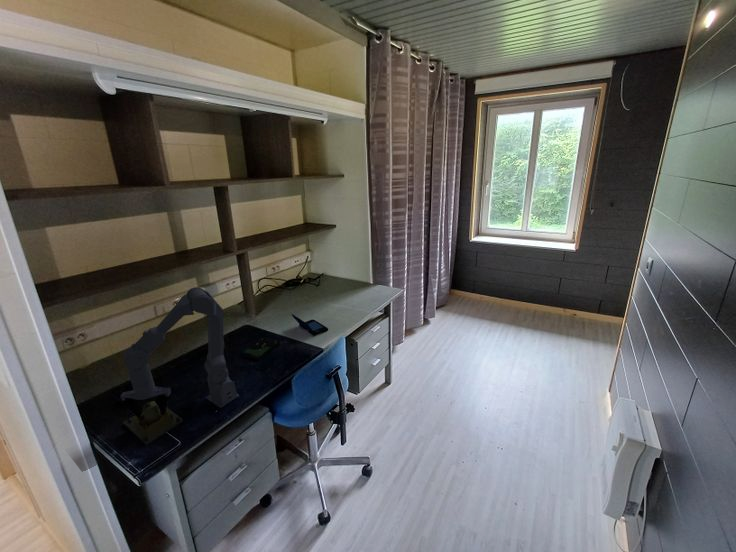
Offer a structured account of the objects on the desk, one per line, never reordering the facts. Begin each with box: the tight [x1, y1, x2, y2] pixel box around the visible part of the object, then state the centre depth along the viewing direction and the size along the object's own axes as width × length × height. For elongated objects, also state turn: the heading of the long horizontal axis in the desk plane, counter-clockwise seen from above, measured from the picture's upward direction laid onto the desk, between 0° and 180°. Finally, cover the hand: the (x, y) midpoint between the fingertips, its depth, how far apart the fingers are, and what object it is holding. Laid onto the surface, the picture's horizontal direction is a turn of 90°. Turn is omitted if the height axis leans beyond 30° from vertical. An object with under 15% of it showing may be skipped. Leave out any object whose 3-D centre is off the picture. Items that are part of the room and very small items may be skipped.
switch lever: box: [141, 400, 162, 426], centre depth 113 cm, size 5×5×7 cm
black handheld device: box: [291, 313, 329, 337], centre depth 175 cm, size 16×13×9 cm
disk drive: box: [242, 336, 281, 361], centre depth 158 cm, size 10×3×15 cm
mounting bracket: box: [122, 406, 184, 446], centre depth 114 cm, size 16×12×4 cm
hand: (152, 413), depth 113 cm, fingers open, 7 cm apart
